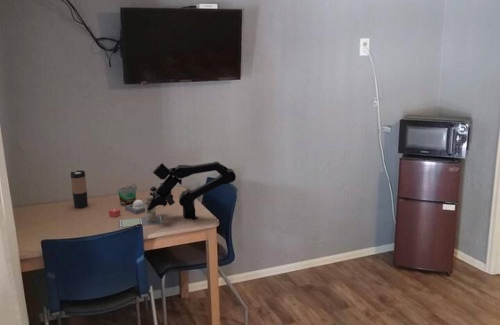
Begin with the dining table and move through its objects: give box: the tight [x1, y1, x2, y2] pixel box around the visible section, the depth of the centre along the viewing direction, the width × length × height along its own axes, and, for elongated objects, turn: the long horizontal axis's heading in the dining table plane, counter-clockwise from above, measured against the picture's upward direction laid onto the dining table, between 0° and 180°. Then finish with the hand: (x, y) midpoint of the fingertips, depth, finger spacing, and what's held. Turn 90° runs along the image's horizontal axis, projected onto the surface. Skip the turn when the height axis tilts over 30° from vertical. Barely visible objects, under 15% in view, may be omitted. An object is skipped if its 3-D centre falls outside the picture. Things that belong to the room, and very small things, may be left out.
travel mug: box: [70, 170, 89, 209], centre depth 264 cm, size 8×8×20 cm
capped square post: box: [144, 194, 157, 223], centre depth 239 cm, size 4×4×13 cm
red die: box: [108, 208, 121, 218], centre depth 248 cm, size 4×4×4 cm
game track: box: [118, 215, 165, 229], centre depth 240 cm, size 22×12×1 cm, turn 106°
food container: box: [117, 183, 138, 206], centre depth 269 cm, size 12×6×10 cm, turn 143°
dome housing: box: [124, 202, 145, 215], centre depth 257 cm, size 10×10×3 cm
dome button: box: [133, 199, 145, 209], centre depth 257 cm, size 6×6×6 cm
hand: (147, 208), depth 239 cm, fingers closed on capped square post, 4 cm apart
